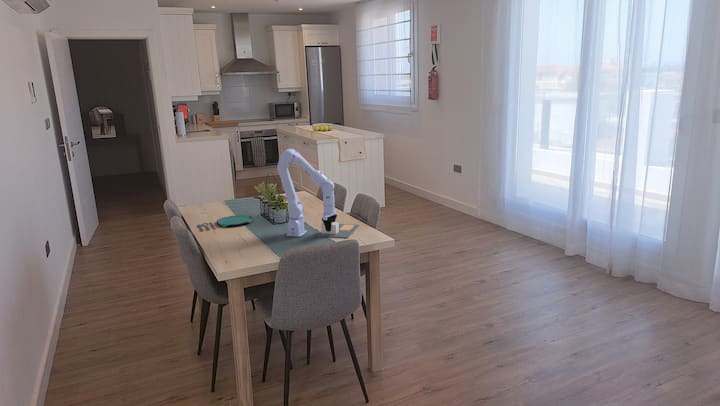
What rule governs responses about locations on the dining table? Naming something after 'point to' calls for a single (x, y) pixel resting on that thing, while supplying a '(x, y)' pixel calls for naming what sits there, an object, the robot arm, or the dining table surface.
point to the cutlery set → (230, 221)
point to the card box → (333, 228)
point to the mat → (341, 231)
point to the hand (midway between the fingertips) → (330, 229)
